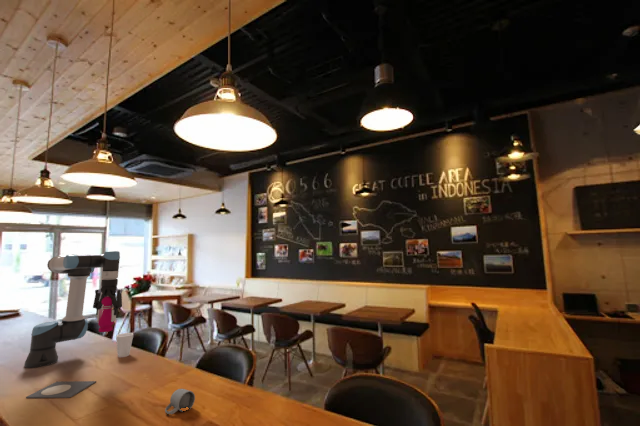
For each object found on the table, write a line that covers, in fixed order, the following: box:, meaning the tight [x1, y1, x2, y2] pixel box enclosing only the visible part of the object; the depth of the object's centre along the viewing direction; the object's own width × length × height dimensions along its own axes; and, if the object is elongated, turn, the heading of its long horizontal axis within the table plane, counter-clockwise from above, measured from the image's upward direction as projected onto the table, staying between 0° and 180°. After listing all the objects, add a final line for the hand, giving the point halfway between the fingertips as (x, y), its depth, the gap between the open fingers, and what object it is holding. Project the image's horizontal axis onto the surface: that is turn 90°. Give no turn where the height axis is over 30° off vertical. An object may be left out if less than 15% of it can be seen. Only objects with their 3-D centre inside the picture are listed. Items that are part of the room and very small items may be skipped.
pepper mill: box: [97, 296, 115, 333], centre depth 171 cm, size 7×7×20 cm
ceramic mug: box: [164, 388, 196, 415], centre depth 132 cm, size 11×8×8 cm
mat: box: [25, 380, 97, 399], centre depth 151 cm, size 20×17×1 cm
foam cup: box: [116, 332, 134, 358], centre depth 201 cm, size 10×9×13 cm
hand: (106, 321), depth 170 cm, fingers closed on pepper mill, 7 cm apart
